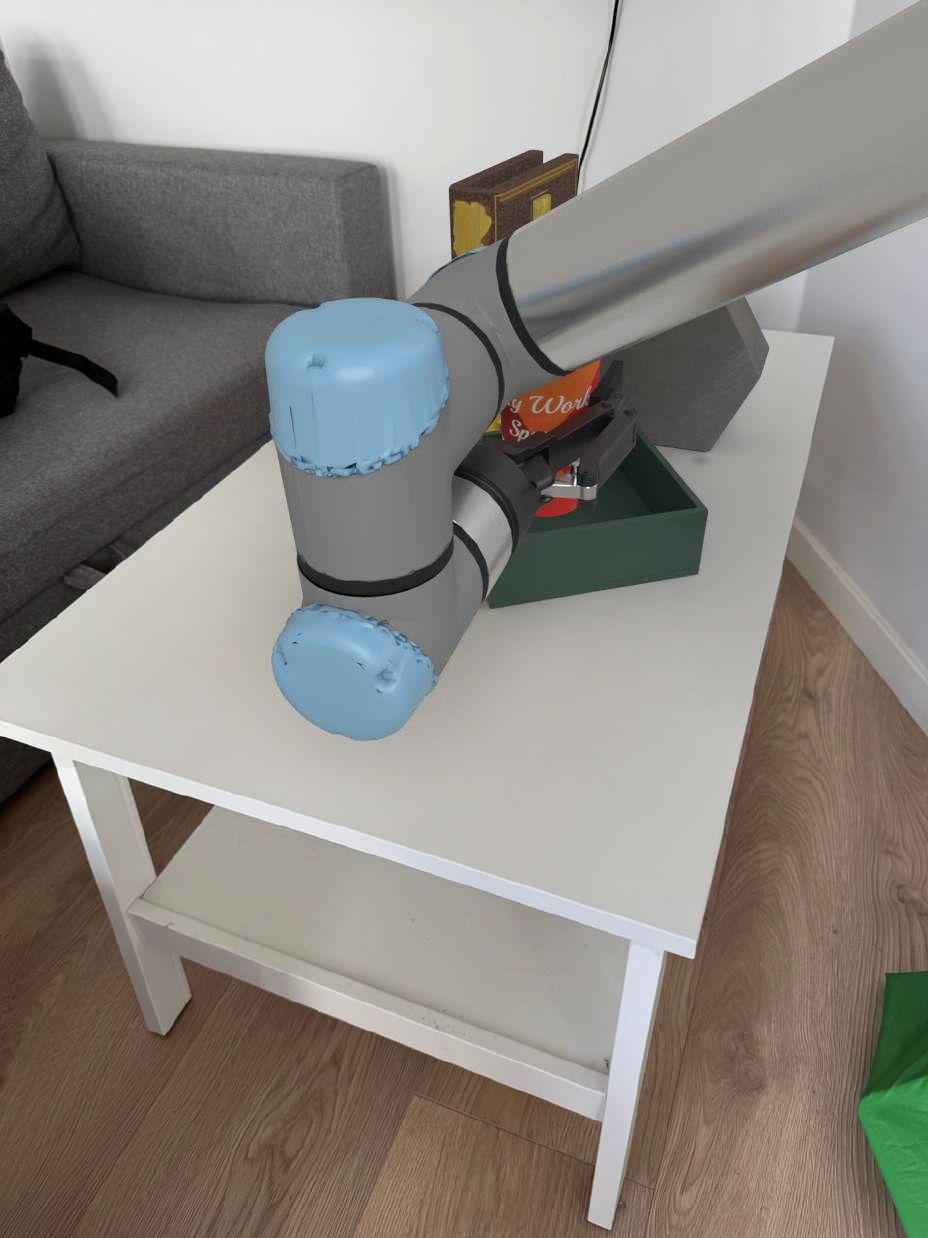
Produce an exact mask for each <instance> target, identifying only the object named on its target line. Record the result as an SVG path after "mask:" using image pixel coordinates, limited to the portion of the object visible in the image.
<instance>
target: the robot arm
mask: <svg viewBox="0 0 928 1238" xmlns="http://www.w3.org/2000/svg"><path fill="white" fill-rule="evenodd" d="M926 218H928V0H918V1H916V2H915V3H913V4H911V5H910V6H907V7H906V8H904V9H903V10H901V11H899V12H897V13H895V14H894V15H891V16H890V17H889V18H887V19H884V20H883V21H881V22H879V23H878V24H876V25H875V26H872V27H870V28H869V29H867V30H866V31H863V32H862V33H860V34H859V35H856V36H855V37H853V38H851V39H849V40H848V41H846V42H845V43H843V44H840V45H839V46H837V47H836V48H834V49H831V50H830V51H829V52H827V53H825V54H824V55H822V56H820V57H818V58H816V59H815V60H813V61H811V62H809V63H808V64H806V65H804V66H802V67H800V68H798V69H797V70H795V71H793V72H791V73H790V74H788V75H786V76H785V77H783V78H781V79H779V80H778V81H776V82H774V83H772V84H770V85H769V86H767V87H765V88H763V89H762V90H760V91H758V92H757V93H755V94H753V95H751V96H750V97H747V98H746V99H744V100H742V101H741V102H739V103H737V104H735V105H734V106H731V107H730V108H729V109H727V110H725V111H723V112H721V113H720V114H718V115H716V116H715V117H713V118H711V119H709V120H707V121H705V122H704V123H702V124H700V125H699V126H696V127H694V128H693V129H691V130H689V131H688V132H686V133H685V134H683V135H681V136H679V137H677V138H675V139H674V140H672V141H670V142H668V143H667V144H665V145H663V146H661V147H660V148H658V149H656V150H655V151H653V152H651V153H649V154H647V155H645V156H643V157H642V158H640V159H639V160H636V161H635V162H633V163H632V164H629V165H628V166H625V168H623V169H621V170H619V171H618V172H616V173H614V174H612V175H610V176H608V177H607V178H605V179H604V180H602V181H600V182H598V183H596V184H595V185H593V186H590V188H587V189H586V190H584V191H582V192H581V193H579V194H577V196H575V197H574V198H572V199H570V200H568V201H567V202H565V203H563V204H561V205H560V206H558V207H556V208H554V209H553V210H551V211H549V212H547V213H545V214H544V215H542V216H540V217H538V218H537V219H535V220H533V221H531V222H530V223H528V224H526V225H524V226H523V227H521V228H519V229H517V230H516V231H515V232H514V233H513V234H511V235H510V236H508V237H506V238H503V239H501V240H499V241H497V242H495V243H493V244H492V245H490V246H483V247H479V248H476V249H473V250H471V251H469V252H466V253H463V254H461V255H459V256H458V257H456V258H454V259H452V260H451V259H450V260H449V261H447V262H446V263H445V264H444V265H442V266H440V267H439V268H437V269H436V270H435V271H434V272H432V273H431V274H430V275H429V276H428V279H427V280H426V281H425V282H424V284H423V285H422V286H421V287H419V288H418V289H417V290H416V291H414V293H412V294H411V296H409V297H408V298H407V299H406V300H405V301H399V300H396V299H395V300H394V299H386V298H381V297H352V298H343V299H342V298H341V299H337V300H331V301H330V300H329V301H324V302H322V303H320V305H318V307H315V308H309V309H303V310H299V311H296V312H294V313H292V314H291V315H289V316H287V317H286V318H285V319H284V320H282V321H281V322H280V323H279V324H278V325H276V327H275V328H274V329H273V330H272V332H271V334H270V335H269V337H268V339H267V343H266V346H265V350H264V364H265V365H264V366H265V373H266V374H265V375H266V381H267V390H268V399H269V409H270V412H269V413H268V419H269V424H270V426H269V427H270V428H269V432H270V435H271V437H272V441H273V444H274V446H275V450H276V455H277V460H278V465H279V469H280V474H281V480H282V485H283V490H284V495H285V501H286V504H287V510H288V514H289V515H288V516H289V520H290V525H291V530H292V536H293V540H294V545H295V550H296V565H297V572H298V577H299V581H300V586H301V592H302V600H301V605H300V607H299V608H297V609H296V610H294V611H293V612H291V613H290V616H289V617H288V618H287V620H286V621H285V626H284V627H283V629H282V631H281V632H280V634H279V635H278V637H277V638H276V640H275V642H274V645H273V647H272V654H271V656H270V658H271V659H270V660H271V661H270V662H271V663H270V664H271V669H272V675H273V678H274V680H275V683H276V685H277V687H278V689H279V691H280V693H281V694H282V696H283V698H284V699H285V700H286V701H287V703H289V705H290V706H291V707H292V708H293V709H294V710H295V711H296V712H297V713H298V714H299V715H300V716H301V717H303V718H304V719H306V720H307V721H308V722H309V723H310V724H312V725H314V726H315V727H316V728H318V729H320V730H322V731H324V732H326V733H328V734H331V735H340V736H343V737H345V738H347V739H350V740H351V741H360V742H371V741H378V740H383V739H386V738H388V737H390V736H392V735H395V734H397V732H399V731H400V730H402V729H403V728H404V727H405V726H406V725H407V724H408V722H409V721H410V719H411V718H412V717H413V715H414V714H415V712H416V711H417V709H418V708H419V707H420V704H422V702H423V700H424V699H425V698H426V697H427V696H428V695H430V694H432V693H433V691H435V689H436V688H437V686H438V683H439V681H440V677H441V675H442V673H443V671H444V669H445V668H446V666H447V665H448V662H449V660H450V659H451V658H452V656H453V654H454V653H455V651H456V649H457V647H458V646H459V644H460V642H461V640H462V639H463V637H464V635H465V634H466V632H467V630H468V628H469V627H470V626H471V623H472V621H473V620H474V618H475V616H476V614H477V613H478V611H479V610H480V608H481V606H482V605H483V603H484V602H485V601H486V600H487V599H486V597H487V596H488V594H489V592H490V591H491V589H492V587H493V586H494V584H495V583H496V581H497V579H498V578H499V576H500V574H501V573H502V571H503V570H504V568H505V566H506V565H507V562H508V560H509V559H510V558H511V557H512V555H513V554H514V552H515V550H516V549H517V547H518V546H519V544H520V542H521V541H522V539H523V537H524V536H525V534H526V532H527V531H528V529H529V527H530V526H531V524H532V522H533V519H534V517H535V515H536V513H537V511H538V510H539V509H541V508H542V507H544V506H546V505H548V504H550V503H551V502H552V500H553V499H554V497H559V498H574V499H575V498H577V507H578V508H579V509H581V510H586V511H587V510H593V509H594V508H595V507H596V500H597V492H598V490H599V489H600V488H601V487H602V486H603V484H604V483H605V482H606V481H607V479H608V478H609V477H610V476H611V475H612V473H613V472H614V471H615V470H616V468H617V467H618V466H619V465H620V463H621V462H622V461H623V460H624V459H625V457H626V456H627V455H628V454H629V452H630V451H631V450H632V449H633V448H634V446H635V444H636V434H637V424H638V413H639V412H638V410H636V409H634V408H625V397H626V391H625V389H622V378H623V365H624V361H620V360H613V362H612V363H611V365H610V367H609V368H608V370H607V371H606V373H605V374H604V376H603V377H602V379H601V380H600V382H599V384H598V385H597V387H596V388H595V390H594V391H593V393H592V394H591V396H590V408H588V409H586V410H585V411H583V412H581V413H579V414H578V415H576V416H574V417H573V418H571V419H569V420H568V421H566V422H564V423H562V424H561V425H559V426H557V427H556V428H554V429H552V430H550V431H549V432H547V433H545V432H542V431H537V432H535V433H533V434H532V435H530V436H528V437H527V438H525V439H523V440H521V441H506V440H502V439H499V438H495V437H488V436H486V437H485V438H484V433H485V432H486V430H487V429H488V428H489V427H490V425H491V424H492V423H493V422H494V420H495V419H496V418H497V417H498V415H499V414H500V413H501V412H502V410H503V409H504V408H505V407H506V405H507V404H508V403H509V402H511V401H512V400H514V399H516V398H517V397H519V396H521V395H523V394H526V393H528V392H530V391H532V390H535V389H537V388H539V387H542V386H544V385H546V384H548V383H551V382H553V381H555V380H557V379H559V378H562V377H564V376H566V375H568V374H571V373H573V372H575V371H576V370H578V369H580V368H582V367H585V366H587V365H589V364H591V363H594V362H596V361H598V360H601V359H603V358H605V357H608V356H610V355H612V354H614V353H617V352H619V351H621V350H624V349H626V348H628V347H630V346H633V345H635V344H637V343H640V342H642V341H644V340H646V339H649V338H651V337H653V336H656V335H658V334H660V333H663V332H665V331H667V330H669V329H672V328H674V327H676V326H679V325H681V324H683V323H685V322H688V321H690V320H692V319H695V318H697V317H699V316H701V315H704V314H706V313H708V312H711V311H713V310H715V309H718V308H720V307H722V306H724V305H727V304H729V303H731V302H734V301H736V300H738V299H740V298H743V297H745V298H746V297H747V296H749V295H752V294H754V293H756V292H758V291H761V290H763V289H765V288H768V287H770V286H772V285H774V284H777V283H779V282H781V281H784V280H787V279H788V278H791V277H793V276H795V275H798V274H800V273H802V272H804V271H807V270H809V269H811V268H813V267H816V266H819V265H820V264H824V263H825V262H827V261H830V260H831V259H834V258H836V257H839V256H842V255H844V254H846V253H848V252H850V251H853V250H855V249H857V248H860V247H862V246H864V245H867V244H869V243H872V242H873V241H875V240H878V239H881V238H882V237H884V236H885V237H886V236H887V235H889V234H892V233H894V232H897V231H899V230H902V229H903V228H906V227H909V226H911V225H912V224H914V223H917V222H919V221H922V220H924V219H926ZM578 459H580V462H578V461H576V460H578ZM570 464H571V470H568V471H567V472H566V473H565V474H564V475H562V476H558V477H555V476H556V474H557V473H558V472H559V471H561V470H562V469H564V468H565V467H567V466H568V465H570Z"/></svg>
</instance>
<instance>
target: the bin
mask: <svg viewBox="0 0 928 1238" xmlns="http://www.w3.org/2000/svg"><path fill="white" fill-rule="evenodd" d="M486 436H488V437H495V438H499V439H502V429H500V430H498V431H490V432H485V433H484V438H485V437H486ZM708 515H709V509H708V508H707V507H706V505H704V503H703V502H702V501H701V500H700V498H699V497H698V496H697V494H695V492H694V491H693V489H691V487H690V486H689V485H688V484H687V482H686V481H685V480H684V479H683V477H682V476H681V475H680V474H679V472H678V471H677V470H676V469H675V468H674V467H673V465H672V464H671V463H670V462H669V461H668V459H667V458H666V457H665V456H664V455H663V453H661V451H660V450H659V449H658V448H657V445H655V444H653V443H652V442H651V440H650V439H649V438H648V437H647V436H646V434H645V433H644V432H643V431H642V430H641V428H640V427H639V426H638V425H637V434H636V444H635V446H634V448H633V449H632V450H631V451H630V452H629V454H628V455H627V456H626V457H625V459H624V460H623V461H622V462H621V463H620V465H619V466H618V467H617V468H616V470H615V471H614V472H613V473H612V475H611V476H610V477H609V478H608V479H607V481H606V482H605V483H604V484H603V486H602V487H601V488H600V489H599V490H598V492H597V500H596V507H595V508H594V509H593V510H587V511H586V510H581V509H579V508H578V507H577V508H576V509H574V510H573V511H571V512H568V513H566V514H562V515H558V516H548V517H544V516H535V517H534V519H533V522H532V524H531V526H530V527H529V529H528V531H527V532H526V534H525V536H524V537H523V539H522V541H521V542H520V544H519V546H518V547H517V549H516V550H515V552H514V554H513V555H512V557H511V558H510V559H509V560H508V562H507V565H506V566H505V568H504V570H503V571H502V573H501V574H500V576H499V578H498V579H497V581H496V583H495V584H494V586H493V587H492V589H491V591H490V592H489V594H488V596H487V597H486V599H485V600H486V601H487V603H488V606H489V608H490V609H498V608H504V607H510V606H517V605H522V604H527V603H532V602H533V603H534V602H539V601H540V602H541V601H546V600H551V599H557V598H563V597H569V596H570V597H571V596H575V595H576V596H577V595H581V594H587V593H588V594H589V593H593V592H601V591H606V590H611V589H618V588H623V587H629V586H630V587H631V586H635V585H641V584H648V583H653V582H659V581H660V582H661V581H665V580H666V581H667V580H670V579H678V578H683V577H688V576H689V577H690V576H697V575H699V574H700V573H699V572H700V566H701V562H702V561H701V560H702V553H703V549H704V542H705V535H706V529H707V524H708V523H707V522H708Z"/></svg>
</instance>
